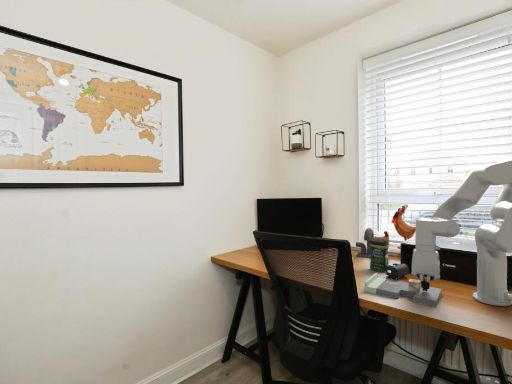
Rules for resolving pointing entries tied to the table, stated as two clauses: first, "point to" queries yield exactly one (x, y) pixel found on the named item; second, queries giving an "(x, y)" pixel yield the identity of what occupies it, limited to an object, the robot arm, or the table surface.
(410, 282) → the maple block
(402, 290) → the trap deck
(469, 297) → the table surface
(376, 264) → the coffee jar
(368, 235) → the faucet
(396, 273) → the dark grey motor
